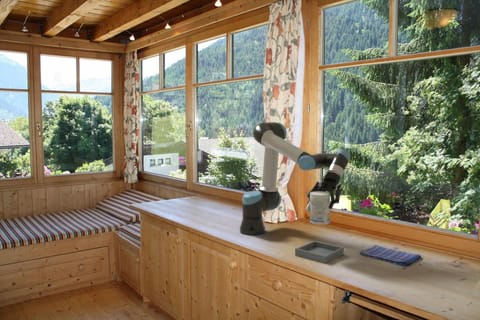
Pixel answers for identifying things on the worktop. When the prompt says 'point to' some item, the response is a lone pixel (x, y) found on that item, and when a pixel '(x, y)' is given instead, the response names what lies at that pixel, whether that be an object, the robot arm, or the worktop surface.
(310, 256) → the tray
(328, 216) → the supplement tub
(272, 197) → the robot arm
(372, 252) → the dish towel
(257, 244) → the worktop surface
